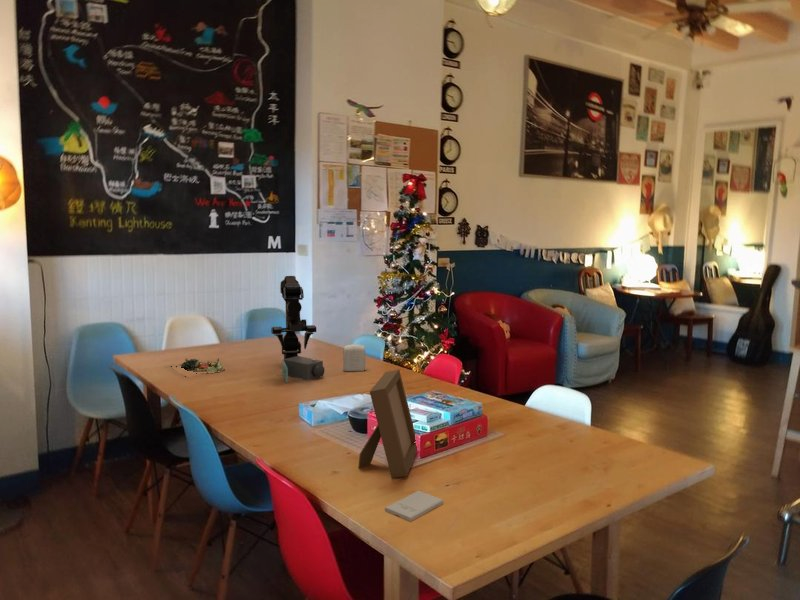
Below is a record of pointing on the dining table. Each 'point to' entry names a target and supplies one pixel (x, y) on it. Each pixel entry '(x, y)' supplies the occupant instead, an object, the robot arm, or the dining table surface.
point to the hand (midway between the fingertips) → (294, 349)
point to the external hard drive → (414, 505)
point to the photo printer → (354, 358)
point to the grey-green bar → (285, 371)
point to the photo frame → (391, 426)
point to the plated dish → (201, 366)
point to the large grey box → (304, 367)
